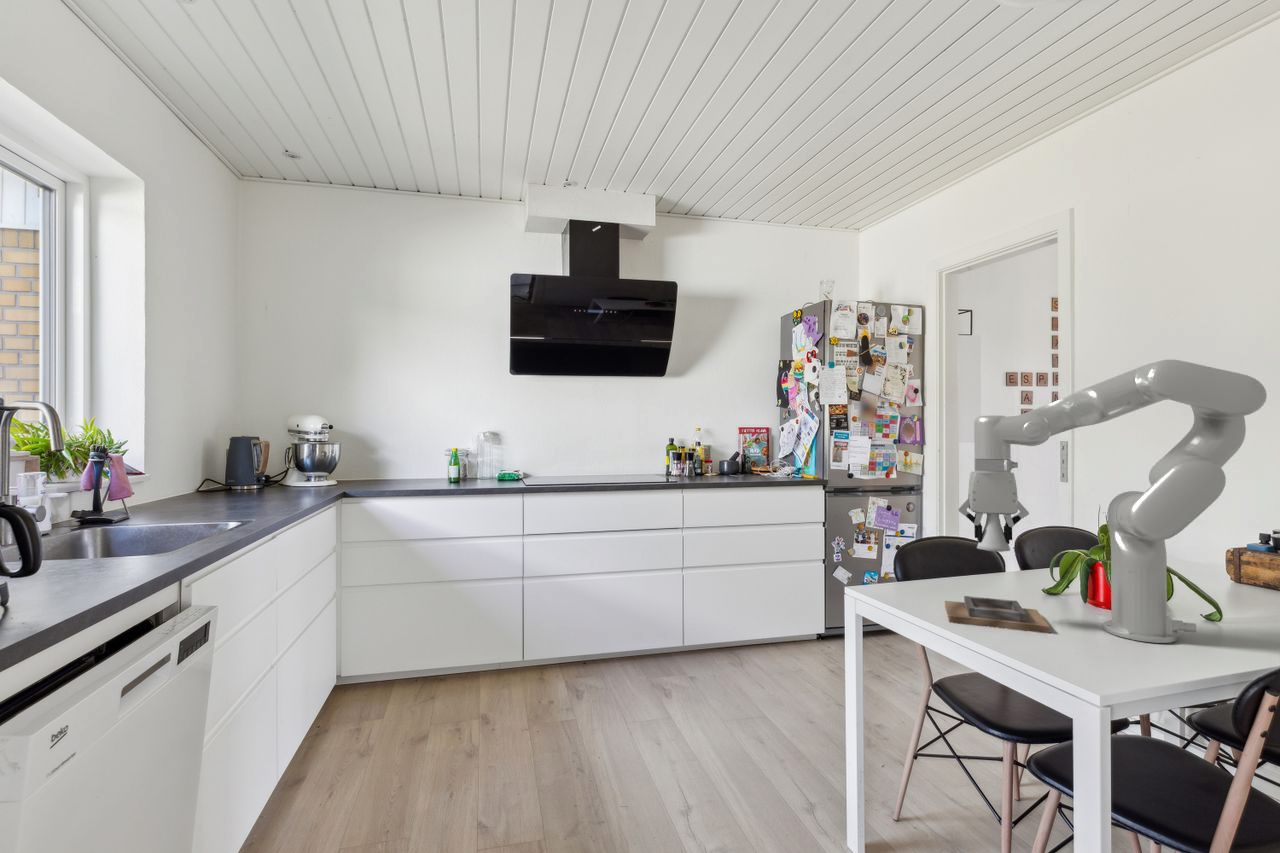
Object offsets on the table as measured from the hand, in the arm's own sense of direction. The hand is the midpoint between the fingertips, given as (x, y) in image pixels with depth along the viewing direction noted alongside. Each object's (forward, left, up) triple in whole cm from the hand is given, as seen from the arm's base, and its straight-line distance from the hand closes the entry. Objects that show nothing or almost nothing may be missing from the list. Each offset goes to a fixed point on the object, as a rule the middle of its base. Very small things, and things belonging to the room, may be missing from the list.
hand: (993, 541), depth 144 cm
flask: (0, 0, -2) cm, 2 cm away
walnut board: (0, 0, -19) cm, 19 cm away
